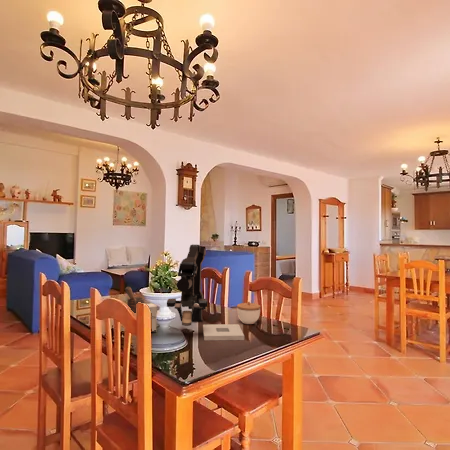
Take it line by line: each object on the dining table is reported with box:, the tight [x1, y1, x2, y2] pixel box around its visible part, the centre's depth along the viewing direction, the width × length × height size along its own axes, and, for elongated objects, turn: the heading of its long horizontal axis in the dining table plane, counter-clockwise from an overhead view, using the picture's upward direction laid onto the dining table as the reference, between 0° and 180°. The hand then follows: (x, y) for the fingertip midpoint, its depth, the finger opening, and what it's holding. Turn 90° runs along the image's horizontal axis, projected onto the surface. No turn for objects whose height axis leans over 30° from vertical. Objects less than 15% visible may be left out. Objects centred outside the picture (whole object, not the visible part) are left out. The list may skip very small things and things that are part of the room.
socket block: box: [202, 323, 245, 341], centre depth 154 cm, size 18×18×2 cm
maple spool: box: [181, 310, 193, 327], centre depth 153 cm, size 4×4×6 cm
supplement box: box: [146, 303, 158, 331], centre depth 156 cm, size 7×7×13 cm
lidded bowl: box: [236, 301, 261, 325], centre depth 176 cm, size 13×13×11 cm
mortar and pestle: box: [124, 286, 145, 313], centre depth 167 cm, size 12×9×20 cm
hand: (186, 321), depth 153 cm, fingers closed on maple spool, 4 cm apart
